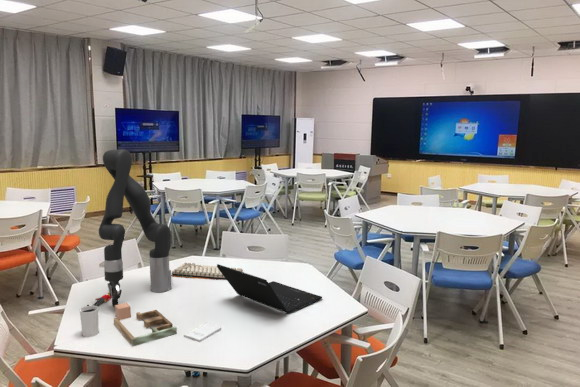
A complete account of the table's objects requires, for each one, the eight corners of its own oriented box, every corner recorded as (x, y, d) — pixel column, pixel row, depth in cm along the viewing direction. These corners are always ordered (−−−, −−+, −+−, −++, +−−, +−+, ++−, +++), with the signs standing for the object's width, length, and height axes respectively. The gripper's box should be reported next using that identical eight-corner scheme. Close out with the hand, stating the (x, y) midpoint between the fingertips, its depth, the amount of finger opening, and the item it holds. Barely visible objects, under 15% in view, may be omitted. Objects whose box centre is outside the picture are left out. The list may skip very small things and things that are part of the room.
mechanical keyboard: (245, 271, 250) (245, 265, 249) (235, 282, 231) (235, 276, 230) (182, 267, 256) (182, 261, 256) (168, 278, 238) (167, 272, 237)
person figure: (86, 300, 193) (108, 286, 210) (84, 308, 193) (106, 293, 211) (96, 304, 192) (118, 290, 210) (94, 312, 193) (116, 297, 211)
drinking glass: (87, 329, 174) (85, 305, 173) (103, 329, 174) (101, 305, 172) (77, 336, 168) (75, 311, 166) (94, 337, 167) (92, 312, 166)
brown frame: (154, 313, 189) (154, 308, 189) (176, 333, 171) (176, 327, 171) (113, 324, 179) (113, 318, 179) (132, 346, 161) (132, 339, 160)
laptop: (323, 300, 207) (323, 260, 204) (265, 325, 179) (265, 280, 177) (273, 283, 229) (273, 247, 226) (215, 303, 202) (214, 263, 199)
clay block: (127, 313, 189) (126, 302, 189) (130, 317, 186) (130, 306, 185) (115, 316, 186) (114, 305, 186) (118, 320, 183) (118, 309, 182)
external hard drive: (221, 331, 175) (199, 343, 164) (205, 326, 179) (183, 338, 169) (221, 327, 175) (199, 339, 164) (205, 322, 179) (183, 334, 168)
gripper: (127, 271, 188) (128, 309, 191) (117, 263, 199) (119, 300, 201) (108, 274, 184) (110, 313, 186) (100, 266, 194) (102, 303, 196)
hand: (115, 306), depth 194 cm, fingers closed
